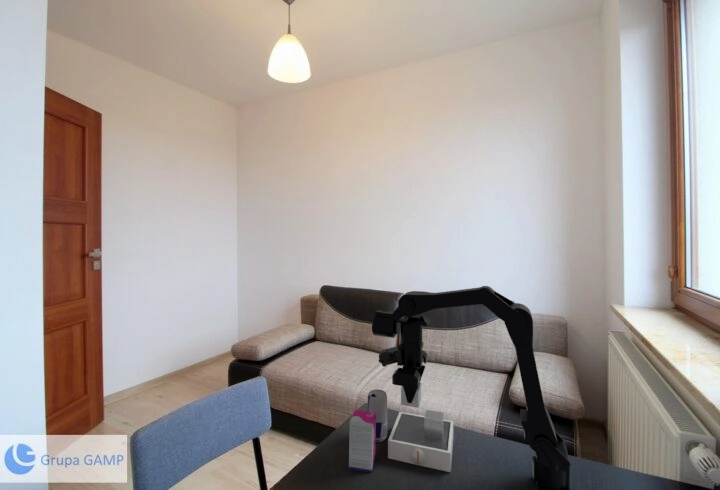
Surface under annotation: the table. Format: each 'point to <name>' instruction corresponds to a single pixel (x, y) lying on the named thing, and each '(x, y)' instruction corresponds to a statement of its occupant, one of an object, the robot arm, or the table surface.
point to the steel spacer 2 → (434, 424)
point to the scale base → (421, 450)
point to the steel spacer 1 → (415, 401)
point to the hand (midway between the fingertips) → (411, 398)
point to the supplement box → (362, 440)
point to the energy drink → (379, 412)
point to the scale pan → (419, 433)
